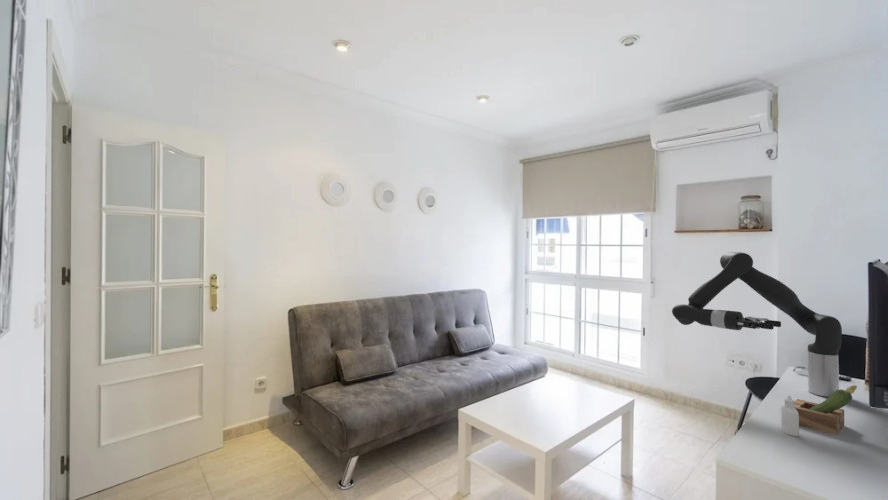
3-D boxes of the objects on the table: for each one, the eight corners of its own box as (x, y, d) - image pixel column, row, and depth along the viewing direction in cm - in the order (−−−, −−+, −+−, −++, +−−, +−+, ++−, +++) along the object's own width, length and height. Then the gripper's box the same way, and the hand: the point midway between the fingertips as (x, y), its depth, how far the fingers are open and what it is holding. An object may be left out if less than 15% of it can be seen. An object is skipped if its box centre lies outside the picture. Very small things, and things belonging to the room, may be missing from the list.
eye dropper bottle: (799, 431, 127) (798, 395, 127) (799, 437, 123) (798, 400, 123) (781, 427, 130) (780, 392, 130) (780, 433, 126) (780, 396, 126)
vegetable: (809, 414, 137) (858, 381, 125) (818, 425, 133) (870, 393, 122) (798, 411, 136) (847, 378, 125) (807, 423, 132) (859, 390, 121)
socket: (797, 413, 141) (797, 398, 141) (844, 425, 131) (844, 409, 131) (787, 421, 134) (787, 406, 134) (835, 435, 124) (835, 418, 124)
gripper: (719, 311, 154) (770, 317, 141) (733, 309, 162) (783, 313, 149) (719, 330, 154) (770, 337, 141) (733, 326, 162) (783, 333, 149)
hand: (777, 325), depth 145 cm, fingers open, 8 cm apart
